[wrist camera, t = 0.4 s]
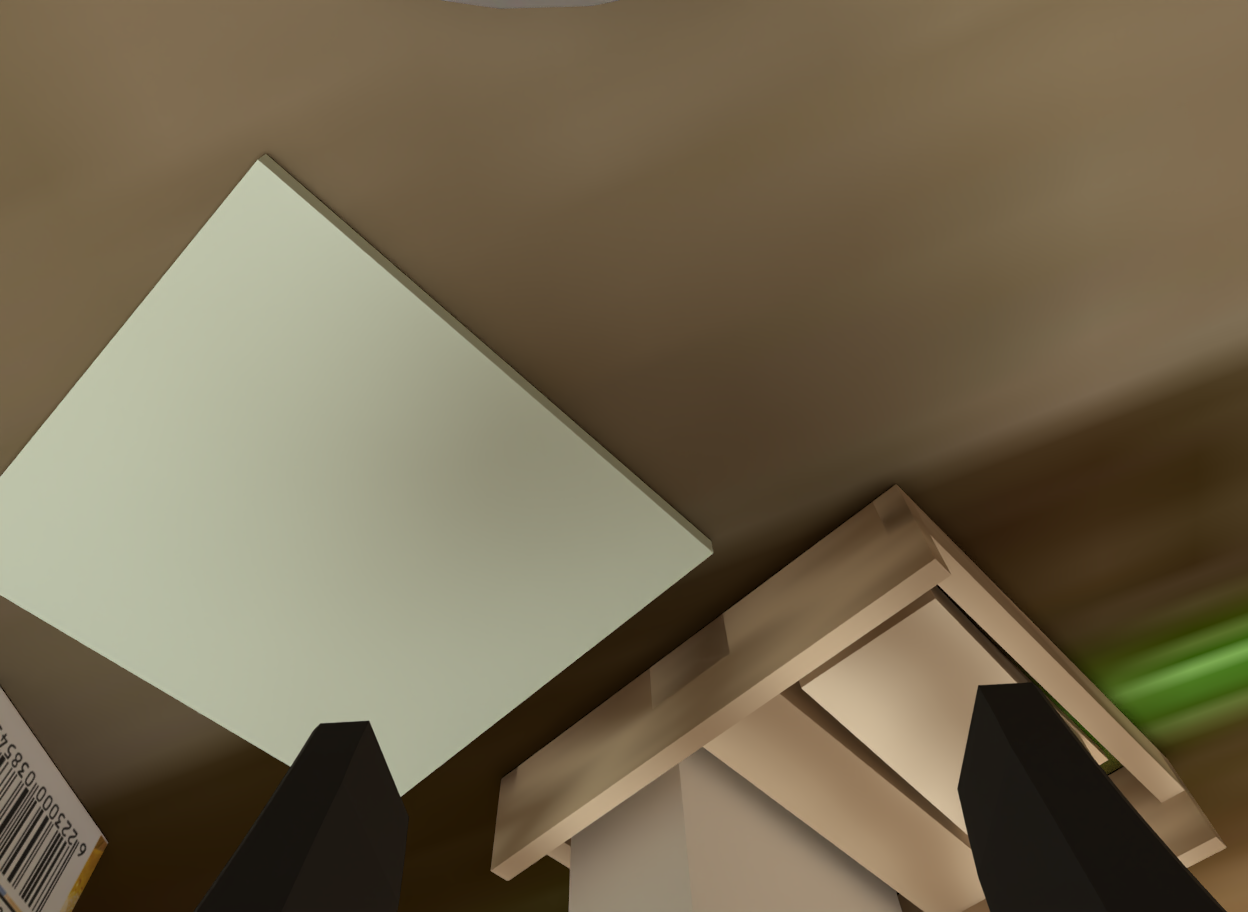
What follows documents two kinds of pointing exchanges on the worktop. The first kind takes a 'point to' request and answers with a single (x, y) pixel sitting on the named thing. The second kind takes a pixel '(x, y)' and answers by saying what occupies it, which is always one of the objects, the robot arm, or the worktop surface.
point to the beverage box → (40, 826)
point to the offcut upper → (915, 693)
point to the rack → (822, 719)
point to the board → (325, 500)
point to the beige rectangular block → (714, 853)
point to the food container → (531, 3)
